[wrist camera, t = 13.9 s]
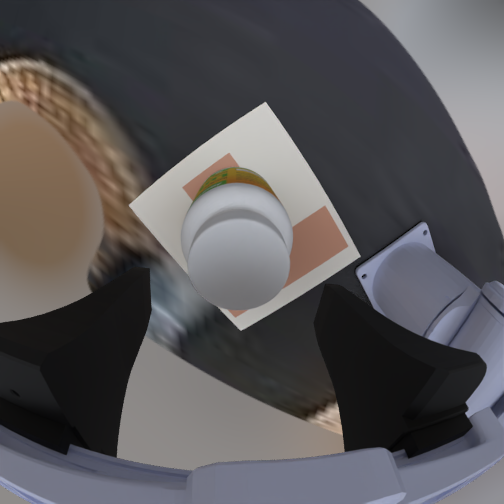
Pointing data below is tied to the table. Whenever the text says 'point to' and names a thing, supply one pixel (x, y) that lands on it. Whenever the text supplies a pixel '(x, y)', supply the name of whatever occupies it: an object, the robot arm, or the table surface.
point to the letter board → (284, 186)
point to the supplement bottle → (237, 240)
